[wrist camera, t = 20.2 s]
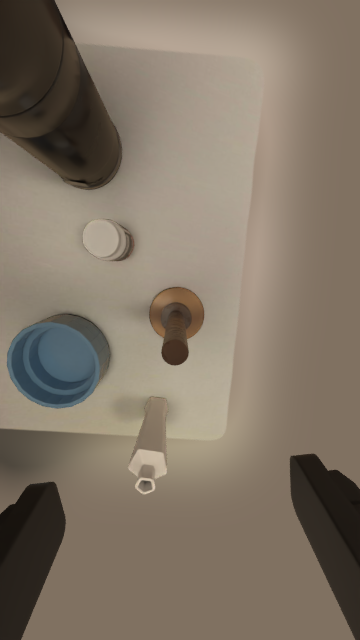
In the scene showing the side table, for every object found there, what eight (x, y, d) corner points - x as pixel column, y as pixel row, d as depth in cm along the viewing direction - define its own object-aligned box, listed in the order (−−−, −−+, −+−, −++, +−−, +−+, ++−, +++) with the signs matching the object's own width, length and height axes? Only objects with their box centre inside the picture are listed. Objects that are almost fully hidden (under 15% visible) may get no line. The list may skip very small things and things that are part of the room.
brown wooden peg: (159, 303, 37) (146, 331, 22) (189, 300, 37) (197, 325, 22) (163, 332, 38) (153, 378, 23) (192, 329, 38) (202, 373, 23)
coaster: (146, 290, 37) (145, 291, 36) (200, 283, 37) (201, 284, 36) (154, 342, 39) (153, 344, 38) (206, 336, 39) (206, 337, 38)
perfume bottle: (163, 424, 42) (155, 510, 27) (139, 413, 42) (118, 494, 27) (176, 401, 41) (175, 478, 27) (152, 390, 41) (137, 461, 26)
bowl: (21, 319, 38) (-5, 328, 33) (102, 309, 38) (89, 316, 32) (41, 393, 41) (20, 412, 35) (116, 384, 40) (107, 402, 35)
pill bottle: (93, 240, 36) (68, 233, 27) (119, 218, 35) (102, 205, 27) (115, 267, 36) (97, 269, 28) (141, 247, 36) (130, 243, 28)
